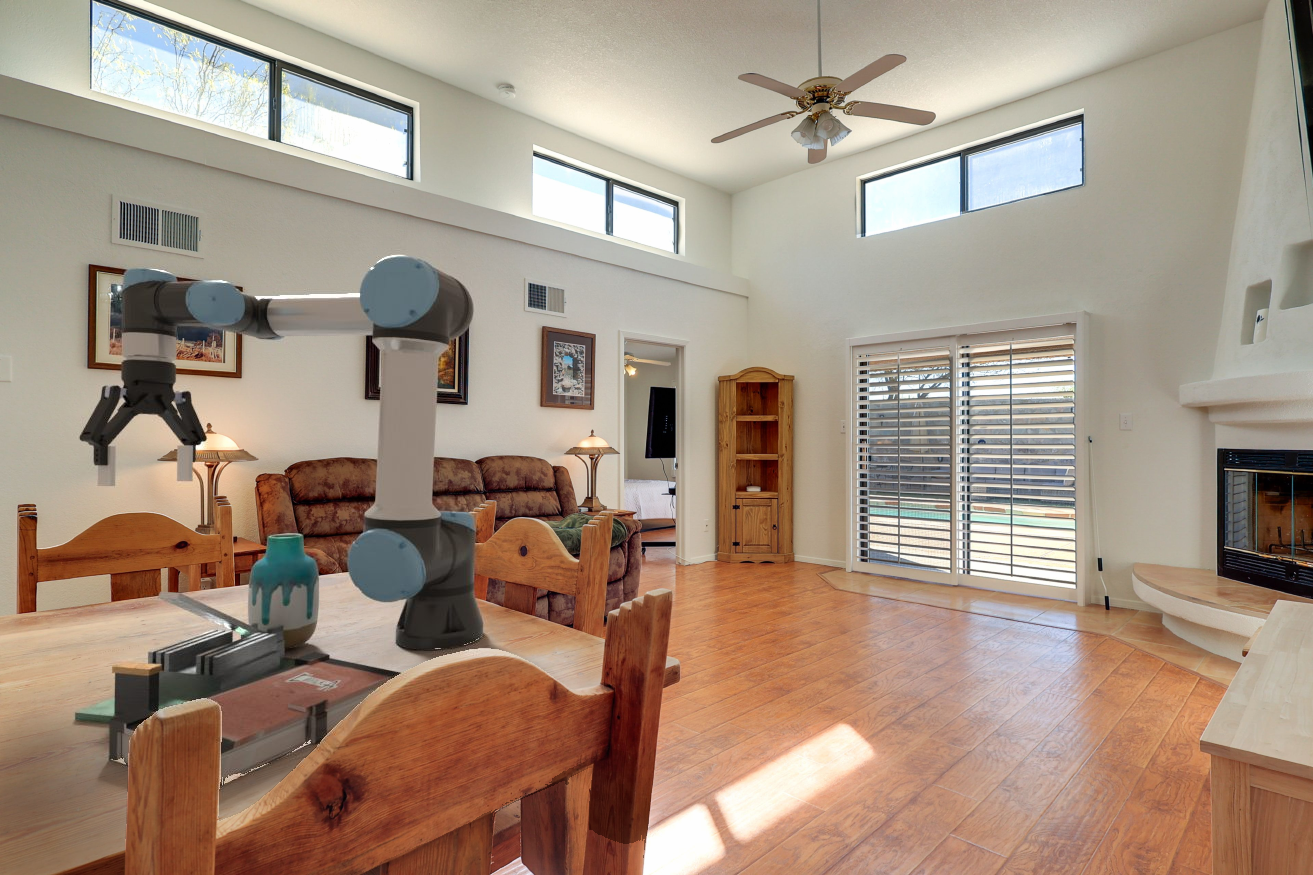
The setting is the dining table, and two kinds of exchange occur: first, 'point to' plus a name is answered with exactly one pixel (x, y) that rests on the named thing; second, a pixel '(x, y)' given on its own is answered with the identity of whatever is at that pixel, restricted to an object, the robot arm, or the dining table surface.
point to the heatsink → (191, 671)
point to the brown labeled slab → (274, 710)
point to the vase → (285, 590)
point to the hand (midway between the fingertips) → (147, 483)
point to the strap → (208, 613)
